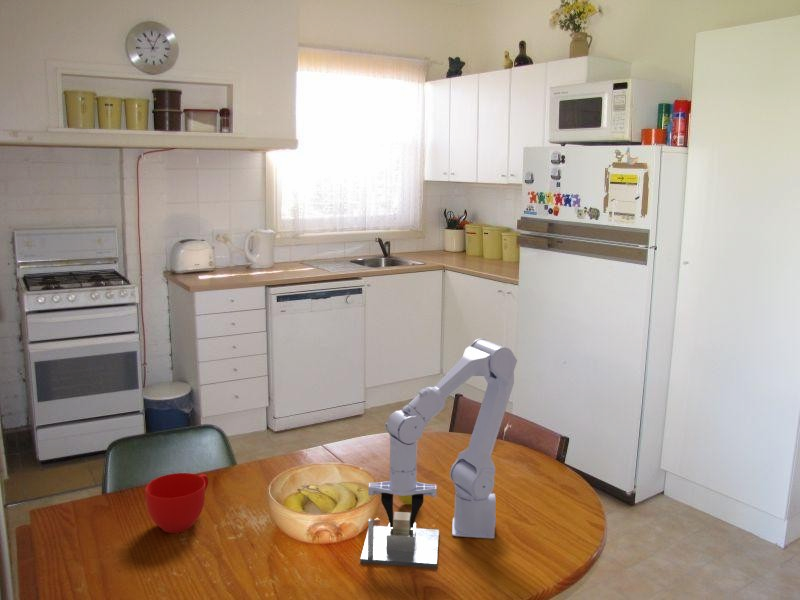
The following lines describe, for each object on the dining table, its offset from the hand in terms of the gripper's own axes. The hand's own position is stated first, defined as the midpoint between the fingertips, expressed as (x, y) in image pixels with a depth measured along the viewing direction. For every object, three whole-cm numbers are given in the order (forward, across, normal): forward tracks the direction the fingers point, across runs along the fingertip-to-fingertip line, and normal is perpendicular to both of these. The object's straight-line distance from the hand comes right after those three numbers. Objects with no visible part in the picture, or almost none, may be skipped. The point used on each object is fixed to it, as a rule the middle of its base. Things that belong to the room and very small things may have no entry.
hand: (401, 525), depth 153 cm
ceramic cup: (+6, +51, -8) cm, 52 cm away
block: (+4, 0, 0) cm, 4 cm away
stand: (+5, 0, 0) cm, 5 cm away
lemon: (+6, -1, -20) cm, 21 cm away
